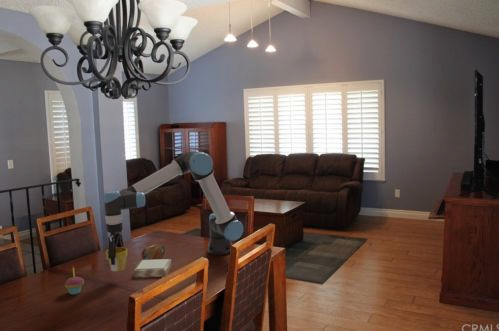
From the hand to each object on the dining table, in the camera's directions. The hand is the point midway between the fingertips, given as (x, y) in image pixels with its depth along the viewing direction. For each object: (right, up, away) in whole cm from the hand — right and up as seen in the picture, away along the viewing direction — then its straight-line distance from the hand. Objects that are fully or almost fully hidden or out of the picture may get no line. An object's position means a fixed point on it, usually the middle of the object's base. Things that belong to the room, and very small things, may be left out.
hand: (117, 266), depth 215 cm
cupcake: (-16, -9, -12) cm, 22 cm away
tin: (+11, -4, +30) cm, 32 cm away
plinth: (+15, -5, +12) cm, 20 cm away
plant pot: (0, -2, 0) cm, 2 cm away
